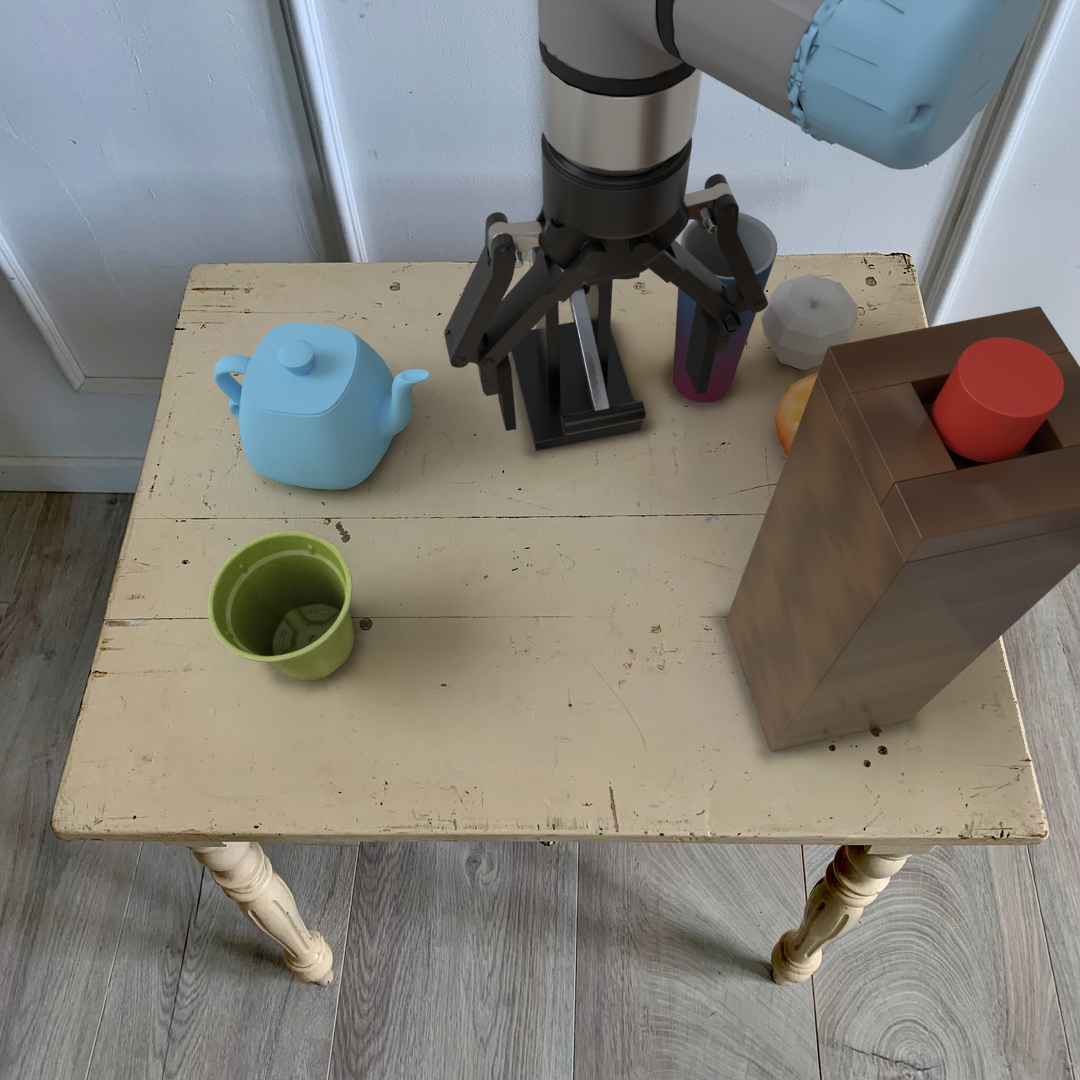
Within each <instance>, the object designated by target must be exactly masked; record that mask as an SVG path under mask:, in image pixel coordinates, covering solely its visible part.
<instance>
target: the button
mask: <svg viewBox="0 0 1080 1080" xmlns="http://www.w3.org/2000/svg"><path fill="white" fill-rule="evenodd" d="M1063 390H1064V382H1063V377H1062V374H1061V372H1060V370H1059V368H1058V366H1057V365H1056V364H1055V362H1054V361H1053V360H1052V359H1051V358H1050V357H1049V356H1048V355H1047V354H1046V353H1044V352H1043V351H1041V350H1040V349H1038V348H1037V347H1035V346H1033V345H1031V344H1029V343H1026V342H1023V341H1020V340H1016V339H1011V338H989V339H985V340H981V341H979V342H976V343H974V344H973V345H971V346H970V347H968V348H967V349H966V350H965V351H964V352H963V354H962V355H961V357H960V358H959V360H958V362H957V364H956V365H955V367H954V369H953V371H952V372H951V374H950V376H949V377H948V379H947V381H946V383H945V384H944V386H943V388H942V390H941V391H940V393H939V395H938V397H937V398H936V400H935V402H934V404H933V406H932V409H931V422H932V424H933V426H934V427H935V429H936V431H937V433H938V435H939V437H940V439H941V441H942V442H943V444H944V445H945V446H946V447H947V448H949V449H950V450H951V451H953V452H954V453H956V454H958V455H960V456H962V457H964V458H967V459H970V460H973V461H978V462H987V463H989V462H1000V461H1004V460H1007V459H1009V458H1012V457H1014V456H1015V455H1017V454H1018V453H1019V452H1020V451H1021V450H1022V449H1023V448H1024V447H1025V445H1026V444H1027V443H1028V442H1029V440H1030V439H1031V438H1032V436H1033V435H1034V434H1035V433H1036V431H1037V430H1038V429H1039V427H1040V426H1041V425H1042V424H1043V422H1044V421H1045V420H1046V418H1047V417H1048V416H1049V414H1050V413H1051V412H1052V411H1053V409H1054V408H1055V407H1056V405H1057V404H1058V403H1059V401H1060V400H1061V398H1062V395H1063Z"/></svg>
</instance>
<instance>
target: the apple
mask: <svg viewBox="0 0 1080 1080" xmlns="http://www.w3.org/2000/svg"><path fill="white" fill-rule="evenodd" d="M760 320H761V325H762V330H763V335H764V337H765V339H766V340H767V343H768V344H769V346H770V347H771V349H772V350H773V352H774V353H775V355H776V358H777V359H778V360H779V362H780V363H781V364H783V365H786V366H790V367H792V368H794V369H799V370H801V371H805V370H809V369H811V368H814V367H817V366H821V364H822V362H823V359H824V356H825V354H826V351H827V348H828V347H829V346H833V345H839V344H844V343H849V342H850V339H851V337H852V335H853V332H854V329H855V326H856V323H857V320H858V304H857V303H856V301H855V300H854V298H853V297H852V296H851V295H850V293H849V292H848V290H847V289H846V287H844V285H843V284H842V283H841V282H840V281H836V280H832V279H829V278H826V277H822V276H819V275H815V274H812V273H806V274H803V275H800V276H797V277H793V278H790V279H787V280H784V281H781V282H779V283H778V285H777V286H776V288H775V289H774V290H773V291H772V293H771V295H770V297H769V300H768V305H767V307H766V308H765V309H764V310H763V313H762V315H761V318H760Z"/></svg>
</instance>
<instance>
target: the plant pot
mask: <svg viewBox="0 0 1080 1080" xmlns="http://www.w3.org/2000/svg"><path fill="white" fill-rule="evenodd" d="M353 590H354V589H353V577H352V574H351V570H350V568H349V565H348V562H347V561H346V559H345V557H344V555H343V554H342V552H340V550H339V549H338V548H337V547H336V546H335V545H333V544H332V542H330V541H328V540H327V539H326V538H323V537H321V536H319V535H317V534H314V533H310V532H307V531H300V530H287V531H286V530H283V531H276V532H272V533H268V534H265V535H262V536H259V537H257V538H255V539H253V540H251V541H249V542H247V543H246V544H244V545H243V546H241V547H240V548H238V549H237V550H235V551H234V552H233V554H231V555H230V556H229V558H228V559H227V560H226V561H225V562H224V563H223V564H222V566H221V567H220V569H218V571H217V573H216V575H215V576H214V578H213V581H212V583H211V586H210V590H209V594H208V599H207V614H208V621H209V624H210V627H211V629H212V631H213V633H214V634H215V636H216V638H217V639H218V641H219V642H220V643H221V644H222V645H223V646H224V647H225V648H226V649H227V650H228V651H230V652H232V653H233V654H234V655H237V656H238V657H241V658H243V659H245V660H248V661H251V662H252V661H253V662H257V663H267V664H269V665H270V666H272V667H273V668H275V669H277V670H278V671H280V672H281V673H283V674H285V676H288V677H290V678H293V679H296V680H298V681H315V680H321V679H323V678H326V677H328V676H330V675H331V674H332V673H334V672H335V671H336V670H337V669H338V668H340V667H341V666H342V665H343V664H344V663H346V661H347V660H348V659H349V657H350V655H351V653H352V651H353V648H354V643H355V629H354V624H353V620H352V616H351V611H350V608H351V607H350V606H351V603H352V599H353ZM317 610H323V611H326V614H325V613H317V612H316V613H313V611H317ZM284 632H285V636H284V639H283V644H282V648H281V647H280V643H281V639H280V638H281V635H282V634H283V633H284ZM311 637H314V638H315V639H314V641H313V642H312V641H310V638H311Z"/></svg>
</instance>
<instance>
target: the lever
mask: <svg viewBox="0 0 1080 1080" xmlns="http://www.w3.org/2000/svg"><path fill="white" fill-rule="evenodd" d="M561 269H562V268H561ZM563 271H564V270H563V269H562V272H563ZM590 287H591V286H587V283H585V282H584V283H583V284H582V285H581V286H580V287H579V288H578V289H577V290H576V291H575V292H574V293H573V294H572V295H571V296H570V297H569V298H568V301H569V307H570V310H571V314H572V315H571V316H572V318H573V319H572V320H573V322H574V325H575V329H576V334H577V339H578V343H579V348H580V353H581V357H582V362H583V367H584V371H585V376H586V381H587V385H588V390H589V395H590V399H591V404H592V409H593V410H588V411H583V412H578V413H573V414H568V415H563V416H561V425H562V430H563V433H564V435H570V434H575V433H580V432H585V431H590V430H596V429H601V428H606V427H611V426H616V425H621V424H626V423H631V422H637V421H642V422H643V421H645V420H646V418H647V417H646V416H647V414H646V408H645V404H644V402H643V400H635V402H630V403H625V404H620V405H614V406H609V402H608V397H607V393H606V388H605V383H604V379H603V374H602V370H601V365H600V360H599V356H598V351H597V346H596V342H595V337H594V332H593V328H592V323H591V318H590V314H589V309H588V305H587V300H586V295H585V294H588V293H589V290H590Z"/></svg>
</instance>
